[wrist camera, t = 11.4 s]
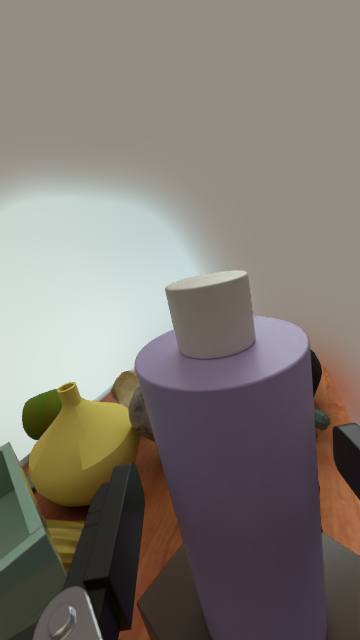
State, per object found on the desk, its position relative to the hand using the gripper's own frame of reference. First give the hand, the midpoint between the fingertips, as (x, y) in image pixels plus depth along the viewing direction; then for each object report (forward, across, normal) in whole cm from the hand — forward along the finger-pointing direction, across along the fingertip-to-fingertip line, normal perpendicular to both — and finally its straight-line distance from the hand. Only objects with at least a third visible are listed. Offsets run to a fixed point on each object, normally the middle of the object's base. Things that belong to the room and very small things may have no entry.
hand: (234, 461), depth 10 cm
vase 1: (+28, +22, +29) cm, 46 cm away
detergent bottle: (-1, 0, +6) cm, 7 cm away
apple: (+44, +43, +24) cm, 66 cm away
